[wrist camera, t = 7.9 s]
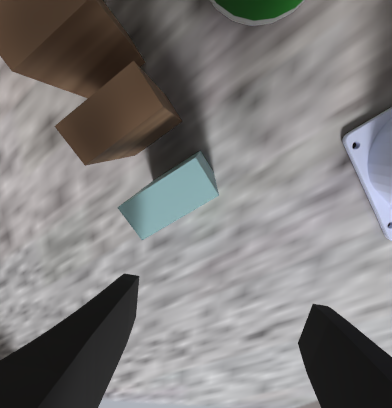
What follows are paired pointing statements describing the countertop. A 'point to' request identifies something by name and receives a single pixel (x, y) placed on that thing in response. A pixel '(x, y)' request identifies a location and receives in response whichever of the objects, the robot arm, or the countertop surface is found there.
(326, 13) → the countertop surface
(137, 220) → the loose domino
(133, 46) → the domino
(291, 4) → the soda can
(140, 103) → the domino
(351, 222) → the countertop surface
